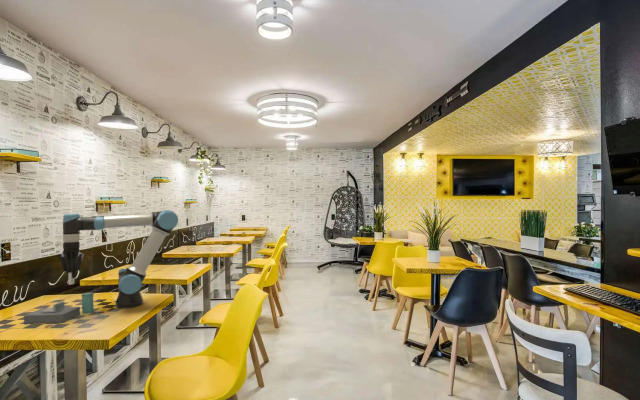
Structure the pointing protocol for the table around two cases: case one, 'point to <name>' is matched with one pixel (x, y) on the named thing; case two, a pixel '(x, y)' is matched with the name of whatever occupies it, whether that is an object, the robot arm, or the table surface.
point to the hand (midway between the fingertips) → (71, 283)
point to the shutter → (54, 308)
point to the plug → (87, 302)
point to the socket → (51, 316)
